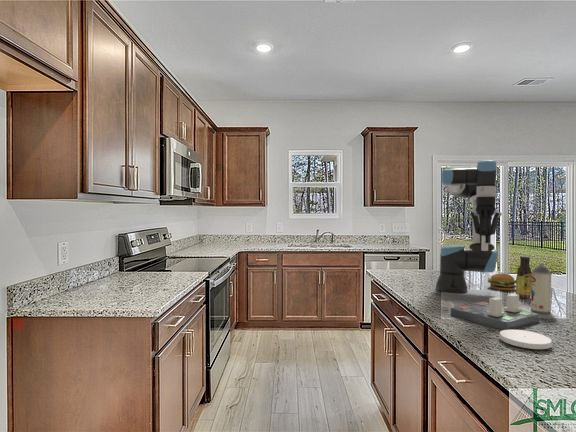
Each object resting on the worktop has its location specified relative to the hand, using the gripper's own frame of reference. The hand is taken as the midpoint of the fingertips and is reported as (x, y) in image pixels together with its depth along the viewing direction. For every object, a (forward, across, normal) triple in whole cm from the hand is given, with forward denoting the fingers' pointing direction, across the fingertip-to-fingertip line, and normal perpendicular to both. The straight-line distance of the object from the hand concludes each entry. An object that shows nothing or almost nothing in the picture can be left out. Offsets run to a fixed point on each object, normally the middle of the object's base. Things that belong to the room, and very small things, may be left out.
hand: (484, 250), depth 167 cm
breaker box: (+24, +13, -15) cm, 31 cm away
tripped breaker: (+21, +17, -21) cm, 34 cm away
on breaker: (+21, +17, -9) cm, 29 cm away
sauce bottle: (+25, 0, +34) cm, 42 cm away
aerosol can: (+25, +17, +13) cm, 33 cm away
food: (+25, -17, +46) cm, 55 cm away
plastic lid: (+25, +34, -34) cm, 54 cm away
